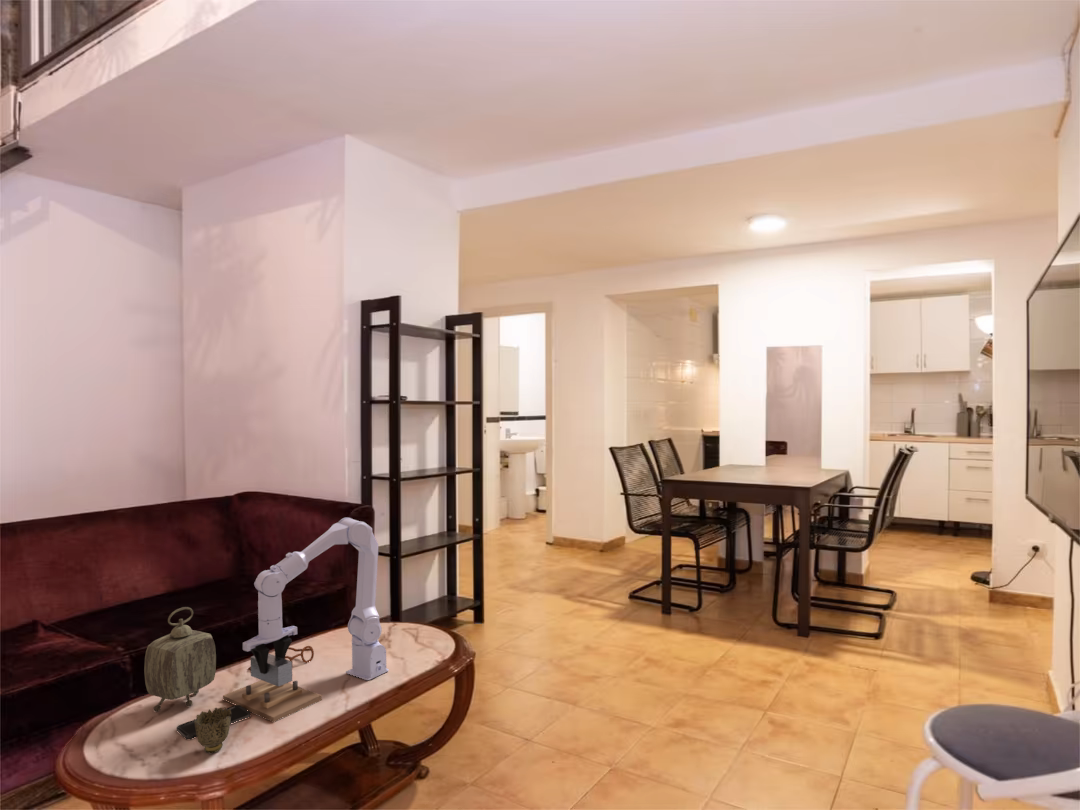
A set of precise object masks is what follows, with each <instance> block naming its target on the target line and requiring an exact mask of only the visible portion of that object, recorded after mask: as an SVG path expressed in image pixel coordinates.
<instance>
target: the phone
mask: <svg viewBox="0 0 1080 810" xmlns="http://www.w3.org/2000/svg"><path fill="white" fill-rule="evenodd" d="M225 708H226V707H225ZM222 709H223V710H224V708H222ZM226 709H227V711H228V710H229V709H230V710H231V719H230V724H231V723H234V722H236V721H239V720H242V719H245V718H247V719H249V718H251V716H250V715H251V712H249V711H247V710H246V709H245V708H243V707H242V706H240V705H233V706H229V707H227V708H226ZM248 717H249V718H248ZM194 719H195V718H194ZM194 719H192V720H190V721H187V722H184V723H182V724H178V725H177V726H176V732H177V731H178V732H179V733H180V734H181V735H180V734H179V733H178V732H177V733H178V734H179V735H180V736H182V737H183V738H184V737H185V738H186V739H185V738H184V739H185V740H187V739H190V740H193V739H192V738H194V737H196V738H197V735H196V729H195V722H194ZM195 720H197V718H196V719H195ZM245 720H246V719H245ZM242 721H243V720H242ZM239 722H240V721H239ZM234 724H235V723H234ZM231 725H232V724H231ZM194 739H195V738H194Z"/></svg>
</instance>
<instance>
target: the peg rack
mask: <svg viewBox="0 0 1080 810" xmlns="http://www.w3.org/2000/svg"><path fill="white" fill-rule="evenodd" d="M298 685H299V684H298V680H292V683H290V682H288V683H286V684H284V685H281V686H279V687H278V686H276V685H273V684H270V683H268V682H265V681H263V680H260V679H259V680H258V681H256V682H254V683H250V684H248V685H245V686H243V687H241V688H239V689H236V690H233V691H231V692H228V693H225V694H223V695H222V700H223V699H224V700H227V701H229V702H231V703H234V704H236V705H240V706H242V707H243V708H245V709H246V710H248V711H250V713H251V712H253V713H252V714H254V715H256V714H257V715H256V716H258V715H260V716H261V718H263V717H264V718H263V719H265V718H266V720H267V719H269V720H268V721H270V720H271V721H270V722H272V721H273V722H272V723H275V722H277V721H279V720H278V719H280V718H282V717H284V718H286V717H288V716H290V715H293V714H295V713H296V711H297V712H299V711H301V710H303V709H305V708H307V706H308V707H310V706H312V705H313V703H314V704H316V703H319V702H320V701H323V695H322V694H319V693H316V692H314V691H311V690H309V689H306V688H303V687H300V686H298ZM224 700H223V701H224ZM319 700H320V701H319ZM229 702H228V703H229ZM315 702H316V703H315ZM231 703H230V704H231ZM311 704H312V705H311ZM309 705H310V706H309ZM302 708H303V709H302ZM300 709H301V710H300ZM298 710H299V711H298ZM294 712H295V713H294ZM292 713H293V714H292ZM289 714H290V715H289ZM287 715H288V716H287ZM260 716H259V717H260ZM285 716H286V717H285ZM282 719H283V718H282ZM276 720H277V721H276ZM280 720H281V719H280ZM274 721H275V722H274Z"/></svg>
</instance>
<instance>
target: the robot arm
mask: <svg viewBox="0 0 1080 810" xmlns="http://www.w3.org/2000/svg"><path fill="white" fill-rule="evenodd" d="M349 544H350V545H352V546H353V547H354V548H355V549H356V550H357V551H358V559H357V560H358V561H357V562H358V563H357V578H356V580H357V581H356V594H355V595H356V596H355V606H354V607H353V609H352V610H351V616H350V618H349V621H348V623H347V629H348V633H349V634H350V635H351V667H352V668H351V669H349V670H346V671H345V674H346V673H347V675H349V674H350V676H352V675H353V676H354V677H355V676H356V678H358V677H359V679H361V678H362V680H365V681H370V680H372V679H375V678H377V677H378V676H380V675H383V674H384V673H385V674H386V673H387V672H389V670H390V669H389V668H387V649H386V647H385V646H384V645H383V644H381V643H380V641H379V639H380V638H381V635H382V625H381V622H380V615H379V613H378V611H377V608H376V598H377V581H378V580H377V578H378V560H379V543H378V541H377V539H376V537H375V535H374V533H373V527H371V526H370V525H369V524H367V523H366V522H365V521H361V520H360V521H359V520H357V519H353V518H352V517H343V518H341V519H340V520H338V522H336V523H333V524H332V525H331V527H329V528H328V530H326V531H325V532H324V533H323V534H322V535H320V536H319V537H318V538H316V539H315V540H314V541H313V542H312V543H310V544H309V545H308V546H307V547H305V548H304V549H303V550H301V551H293V552H290V551H289V552H287V553H286V554H285V557H284V558H283V559H282V560H280V561H279V562H278V563H276V564H273V565H271V566H270V567H269V569H267V570H266V569H265V570H263V571H261V572H260V573H259V574H258V575H257V577H256V579H255V581H254V583H253V585H254V587H255V589H256V590H257V591H258V592H257V594H258V595H257V596H258V598H257V599H258V601H257V607H258V609H257V615H258V616H257V617H258V618H257V619H258V634H257V635H256V636H254V637H251V638H250V639H248V640H246V641H244V642H242V650H243V651H244V652H251V653H252V654H253V655H252V656H255V658H256V661H257V663H258V666H259V670H260V673H263V674H266V673H267V669H268V666H267V660H268V654H270V648H268V647H267V646H266V645H267V644H271V643H273V649H274V656H277V657H280V658H283V659H286V658H285V656H287V655H286V654H287V653H288V650H289V649H288V648H289V647H290V646H291V644H292V638H291V637H290V636H295V635H298V626H295V625H291V626H287V627H283V600H282V599H283V598H282V593H283V591H284V590H285V588H286V585H287V584H288V583H289V582H291V581H293V579H295V578H296V577H298V576H299V575H300V574H302V573H304V571H306V570H307V569H308V567H309V563H310V561H312V560H314V559H315V558H316V557H318V556H320V555H321V554H322V553H324V552H326V551H327V550H328V549H330V548H331V547H333V546H336V545H349Z"/></svg>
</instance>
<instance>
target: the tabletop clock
mask: <svg viewBox="0 0 1080 810" xmlns="http://www.w3.org/2000/svg"><path fill="white" fill-rule="evenodd" d="M180 611H181V612H182V611H190V613H191V614H190V616H189V617H188V618H186V619H184V618H179V619H178V622H176V623H172V622H171V618H172V617H173V616H174V615H175V614H177V613H178V612H180ZM193 616H194V610H193V609H192V608H191V607H189V606H182V607H180V608H177V609H175V610H174V611H172V612H171V613H170V614H169V616H168V618H167V623H168V625H170V626H172V627H173V628H172V629H171V631H170V633H168V634H166V635H164V636H161V637H159V638H157V639H155V640H153V641H151V643H150V644H148V645H147V648H146V651H145V656H144V669H143V671H144V673H143V674H144V683H145V687H146V691H147V693H148V694H149V695H150V696H153V697H154V696H155V697H157V698H160V700H159V703H158V704H156V705H154V706H153V711H154V712H156V713H157V712H159V711H160V710H161V709H162V708H161V706H162V704H163V703H164V701H165V700H170V701H171V700H179V699H181V698H183V697H186V702H185V706H186V707H187V706H190V707H191V706H192V705H193V703H194V702H193V700H191V699H190V698H191V697H190V695H191V694H193V695H197V694H199V691H200V690H201V689H202V688H205V687H206V686H208V685H210V684H211V683H212V682H213V681H214V680H215V676H216V671H217V670H216V667H217V654H216V644H215V641H214V639H213V636H212V634H211V633H208V632H204V631H199V630H195V629H194V630H193V629H192V628H191V626H189V625H187V624H186V623H187V622H189V621H190V620H191V619H192V618H193Z"/></svg>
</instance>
